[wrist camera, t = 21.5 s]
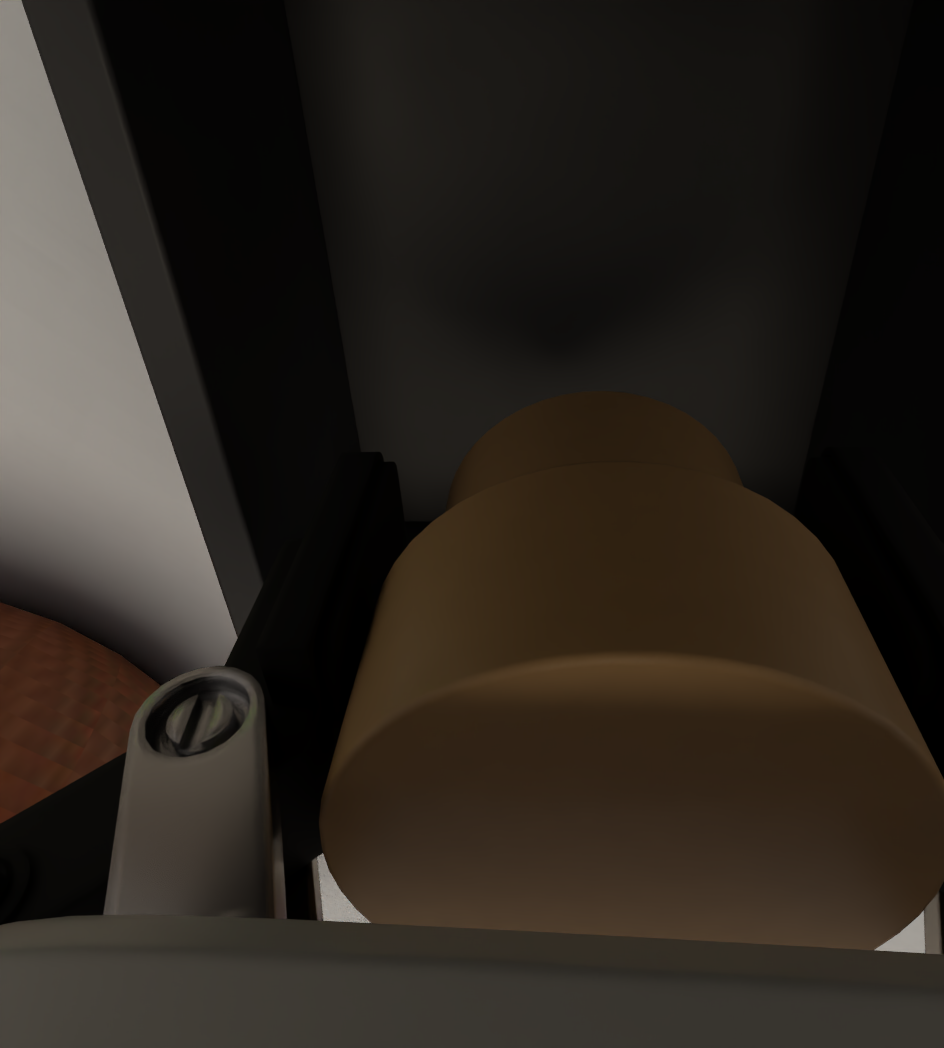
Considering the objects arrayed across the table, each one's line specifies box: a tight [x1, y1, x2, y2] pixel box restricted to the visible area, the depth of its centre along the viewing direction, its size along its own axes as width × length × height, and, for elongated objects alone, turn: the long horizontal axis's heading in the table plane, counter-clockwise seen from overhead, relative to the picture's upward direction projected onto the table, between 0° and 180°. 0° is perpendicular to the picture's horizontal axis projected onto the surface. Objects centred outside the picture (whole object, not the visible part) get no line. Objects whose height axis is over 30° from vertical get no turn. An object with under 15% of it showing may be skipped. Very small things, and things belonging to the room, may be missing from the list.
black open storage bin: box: [22, 0, 944, 637], centre depth 13 cm, size 15×13×8 cm
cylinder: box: [319, 391, 944, 950], centre depth 9 cm, size 6×6×6 cm
